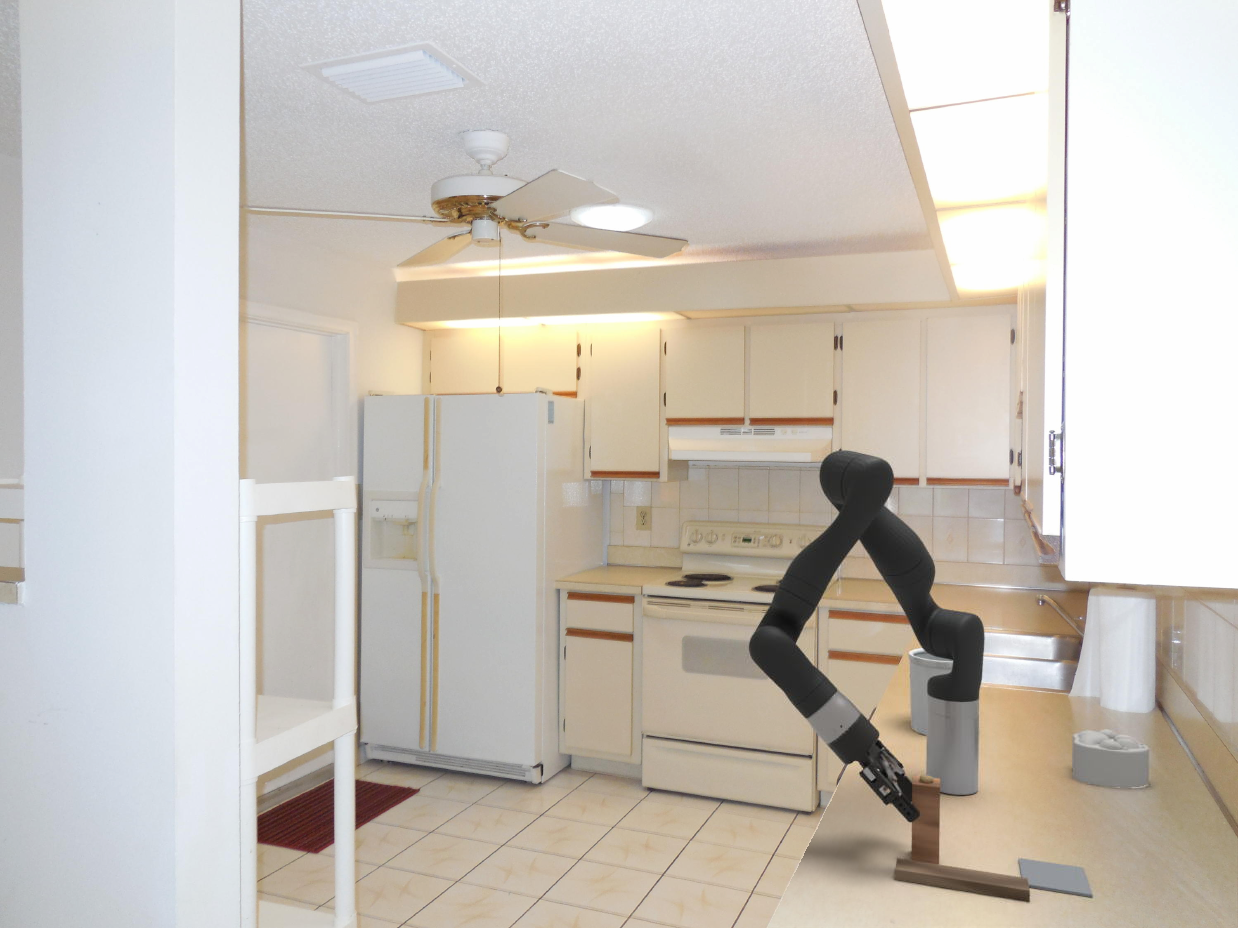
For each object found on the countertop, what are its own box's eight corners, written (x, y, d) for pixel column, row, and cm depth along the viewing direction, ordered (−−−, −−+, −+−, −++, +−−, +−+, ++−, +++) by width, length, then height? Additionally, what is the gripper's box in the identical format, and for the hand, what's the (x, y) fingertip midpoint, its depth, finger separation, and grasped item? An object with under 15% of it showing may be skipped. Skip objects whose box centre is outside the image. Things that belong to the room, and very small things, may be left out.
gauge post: (912, 850, 141) (913, 771, 141) (939, 854, 140) (940, 774, 140) (911, 861, 138) (912, 779, 137) (939, 865, 136) (940, 783, 136)
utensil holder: (907, 736, 200) (908, 657, 200) (907, 718, 214) (908, 644, 214) (978, 743, 195) (979, 663, 195) (974, 724, 210) (975, 649, 209)
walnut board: (896, 867, 135) (896, 857, 135) (1027, 888, 129) (1027, 877, 129) (895, 879, 132) (895, 868, 132) (1029, 901, 125) (1029, 890, 125)
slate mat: (1018, 860, 138) (1018, 857, 138) (1083, 869, 135) (1083, 867, 135) (1023, 886, 130) (1023, 883, 130) (1092, 897, 127) (1092, 894, 127)
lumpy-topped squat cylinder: (1071, 765, 182) (1072, 723, 182) (1145, 775, 176) (1146, 731, 176) (1073, 782, 172) (1074, 737, 172) (1151, 793, 167) (1152, 747, 167)
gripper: (855, 723, 135) (934, 810, 132) (863, 700, 149) (935, 778, 145) (819, 754, 137) (896, 840, 133) (830, 728, 151) (901, 806, 147)
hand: (916, 808), depth 139 cm, fingers open, 8 cm apart
